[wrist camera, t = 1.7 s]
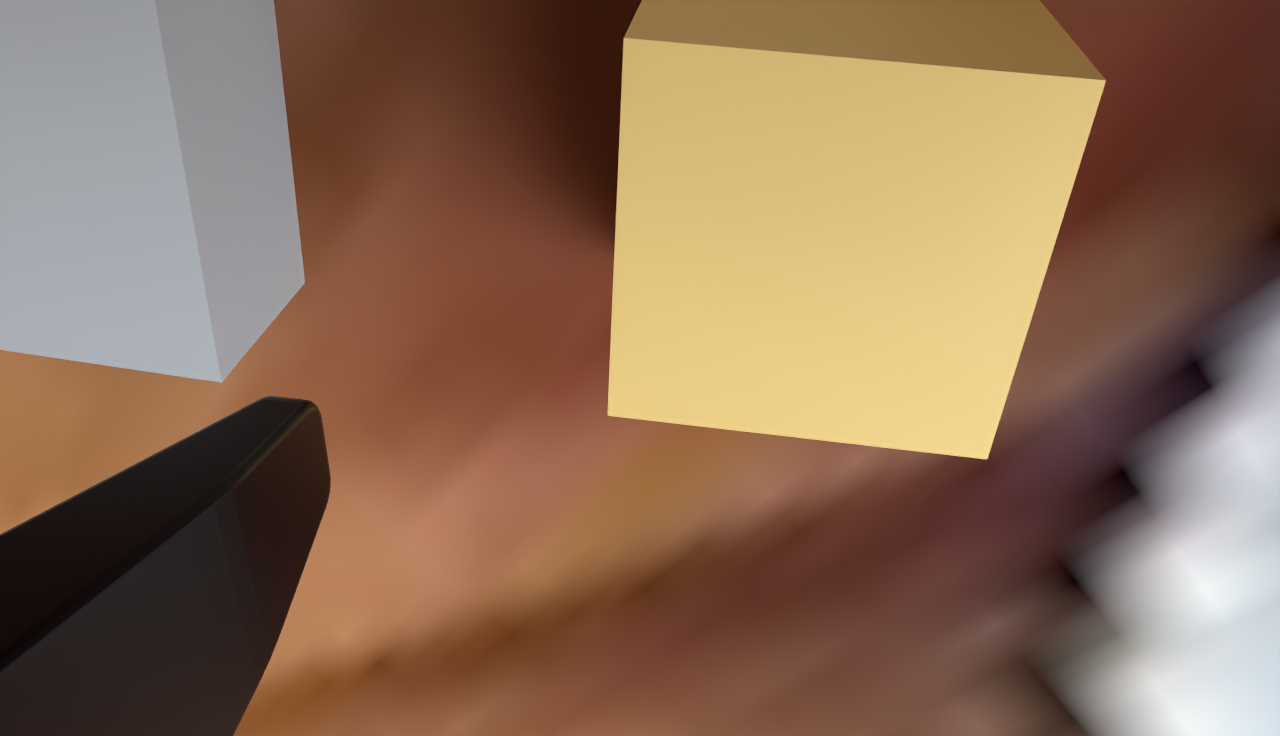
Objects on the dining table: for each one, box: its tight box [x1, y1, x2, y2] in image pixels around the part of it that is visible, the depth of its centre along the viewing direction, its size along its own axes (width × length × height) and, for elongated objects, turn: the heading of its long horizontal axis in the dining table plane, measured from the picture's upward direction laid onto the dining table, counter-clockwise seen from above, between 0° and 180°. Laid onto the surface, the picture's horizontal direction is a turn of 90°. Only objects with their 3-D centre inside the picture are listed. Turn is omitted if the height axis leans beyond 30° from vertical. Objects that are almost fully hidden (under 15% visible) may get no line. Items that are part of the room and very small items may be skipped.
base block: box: [0, 0, 305, 383], centre depth 15 cm, size 7×7×4 cm
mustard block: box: [608, 0, 1106, 459], centre depth 14 cm, size 5×5×4 cm
